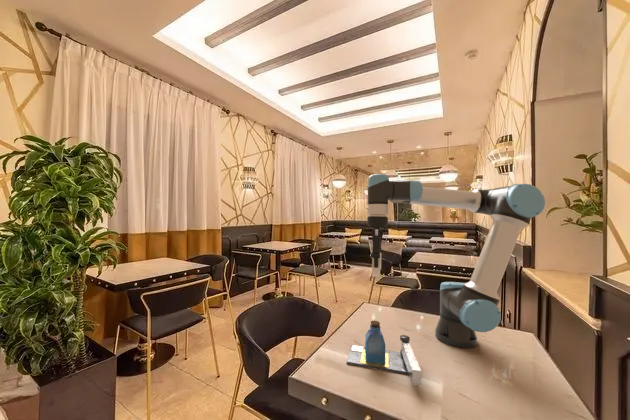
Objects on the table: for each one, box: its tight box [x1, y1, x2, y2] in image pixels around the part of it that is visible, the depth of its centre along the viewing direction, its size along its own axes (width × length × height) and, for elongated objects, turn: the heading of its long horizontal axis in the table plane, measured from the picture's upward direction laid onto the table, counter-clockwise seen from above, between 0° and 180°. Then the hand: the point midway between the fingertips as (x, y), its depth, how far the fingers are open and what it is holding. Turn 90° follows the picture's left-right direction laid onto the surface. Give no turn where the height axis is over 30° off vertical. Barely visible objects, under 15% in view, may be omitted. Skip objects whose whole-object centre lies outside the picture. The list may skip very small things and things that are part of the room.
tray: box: [346, 344, 409, 376], centre depth 90 cm, size 22×12×2 cm, turn 74°
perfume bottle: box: [364, 320, 386, 364], centre depth 90 cm, size 6×6×12 cm
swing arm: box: [399, 334, 422, 386], centre depth 84 cm, size 20×3×5 cm, turn 171°
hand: (376, 272), depth 97 cm, fingers open, 13 cm apart
